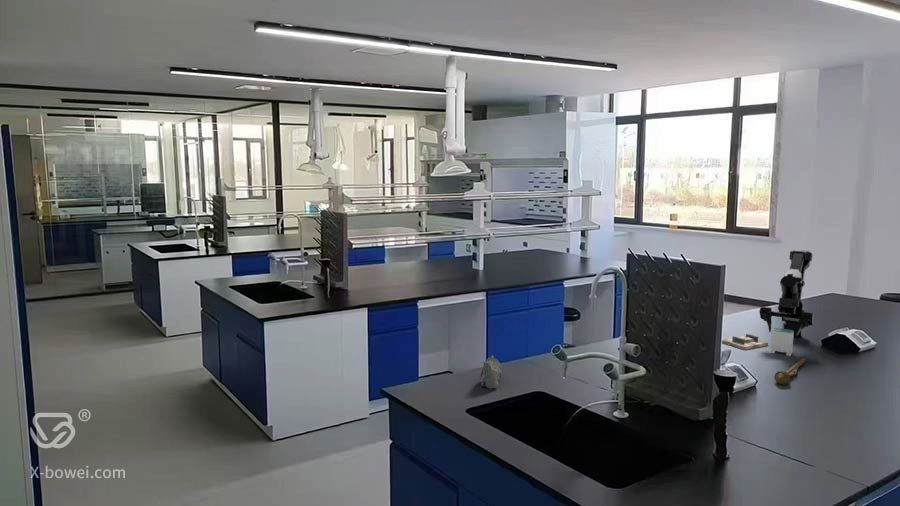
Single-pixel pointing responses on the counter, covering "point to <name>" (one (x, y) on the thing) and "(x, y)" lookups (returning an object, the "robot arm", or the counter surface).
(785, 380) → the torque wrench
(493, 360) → the mineral rock
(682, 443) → the counter surface
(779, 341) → the panel
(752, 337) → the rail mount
